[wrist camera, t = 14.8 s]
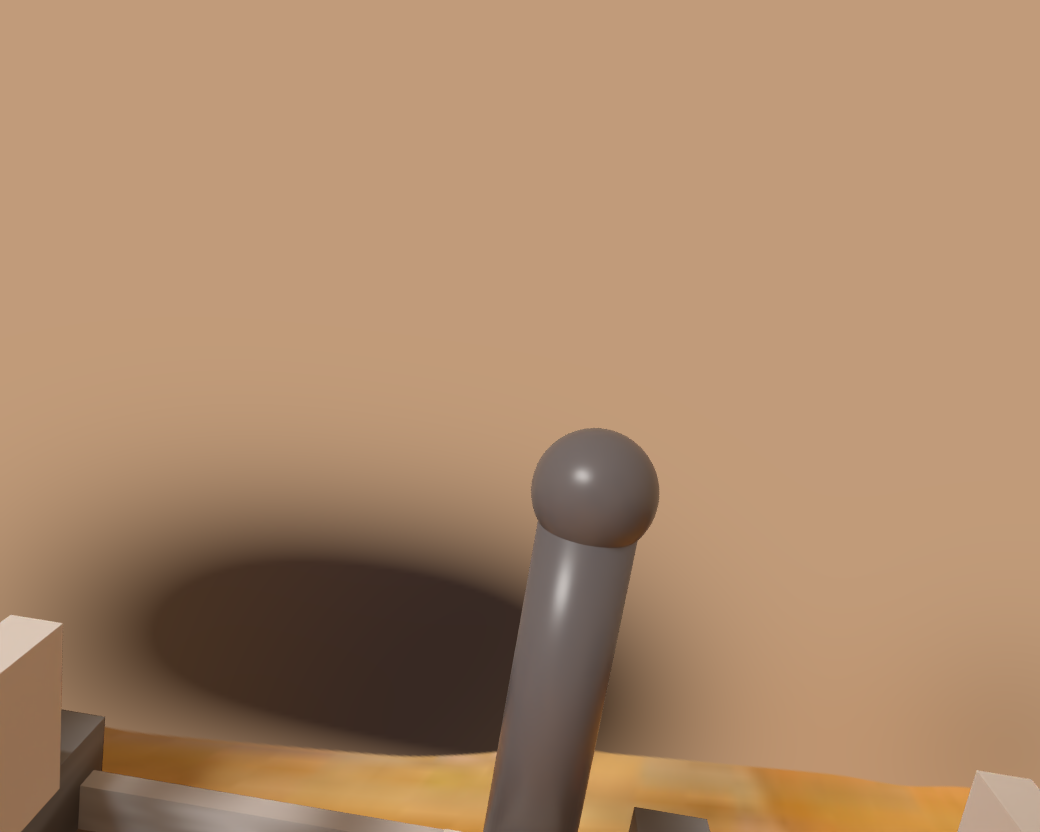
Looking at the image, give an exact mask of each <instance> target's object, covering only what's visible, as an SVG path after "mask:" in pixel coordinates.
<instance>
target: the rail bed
mask: <svg viewBox="0 0 1040 832" xmlns="http://www.w3.org/2000/svg"><path fill="white" fill-rule="evenodd" d="M104 726H105V717H102V716H97V715H90V714H85V713H78V712H73V711H66V710H61V743H60V789H59V790H58V791H57V792H56V793H55V794H54V795H53V796H52V798H51V799H50V800H49V801H48V802H47V803H46V804H45V805H44V807H43V808H42V809H41V810H40V811H39V812H38V813H37V814H36V815H35V817H34V818H33V819H32V820H31V821H30V822H29V823H28V824H27V826H26V827H25V828H24V829H23V830H22V831H21V832H444V830H443V829H437V828H431V827H425V826H419V825H414V824H408V823H402V822H396V821H390V820H384V819H378V818H373V817H367V816H361V815H355V814H349V813H343V812H337V811H331V810H326V809H320V808H314V807H308V806H302V805H296V804H290V803H284V802H279V801H273V800H267V799H261V798H255V797H249V796H243V795H238V794H232V793H226V792H220V791H214V790H208V789H202V788H196V787H191V786H185V785H179V784H173V783H167V782H161V781H155V780H150V779H144V778H138V777H132V776H126V775H120V774H114V773H108V772H103V771H102V760H103V743H104ZM629 832H710V830H709V826H708V822H707V819H702V818H696V817H690V816H685V815H679V814H673V813H667V812H661V811H655V810H649V809H643V808H638V807H634V811H633V816H632V820H631V825H630V829H629Z"/></svg>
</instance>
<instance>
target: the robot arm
mask: <svg viewBox="0 0 1040 832" xmlns="http://www.w3.org/2000/svg"><path fill="white" fill-rule="evenodd" d="M62 645H63V623H57V622H52V621H46V620H40V619H33V618H27V617H21V616H15V615H10V616H9V617H7V618H6V619H4V620H3V621H2V622H0V832H21V831H22V830H23V829H24V828H25V827H26V826H27V824H28V823H29V822H30V821H31V820H32V819H33V818H34V817H35V815H36V814H37V813H38V812H39V811H40V810H41V809H42V808H43V807H44V805H45V804H46V803H47V802H48V801H49V800H50V799H51V798H52V796H53V795H54V794H55V793H56V792H57V791H58V790H59V789H60V743H61V694H62V693H61V692H62ZM958 832H1040V789H1039V788H1038V787H1037V786H1036V784H1035V783H1034V782H1033V781H1032V779H1027V778H1020V777H1014V776H1008V775H1002V774H996V773H989V772H984V771H978V770H977V771H976V774H975V777H974V780H973V784H972V787H971V790H970V793H969V797H968V800H967V803H966V806H965V810H964V813H963V816H962V819H961V823H960V826H959V829H958Z"/></svg>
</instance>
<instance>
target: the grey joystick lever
mask: <svg viewBox="0 0 1040 832" xmlns="http://www.w3.org/2000/svg"><path fill="white" fill-rule="evenodd" d="M531 498H532V504H533V509H534V512H535V515H536V517H537V519H538V523H537V529H536V535H535V540H534V546H533V552H532V558H531V563H530V569H529V575H528V580H527V586H526V592H525V597H524V604H523V609H522V614H521V620H520V626H519V631H518V638H517V643H516V648H515V654H514V660H513V665H512V671H511V677H510V682H509V688H508V694H507V699H506V706H505V711H504V716H503V722H502V728H501V734H500V739H499V745H498V750H497V756H496V762H495V767H494V773H493V779H492V784H491V790H490V796H489V801H488V807H487V813H486V818H485V824H484V830H483V832H578V828H579V823H580V818H581V814H582V809H583V804H584V799H585V794H586V789H587V784H588V779H589V775H590V770H591V765H592V760H593V755H594V750H595V745H596V740H597V735H598V730H599V726H600V721H601V716H602V711H603V706H604V701H605V696H606V692H607V687H608V682H609V677H610V672H611V667H612V662H613V658H614V653H615V648H616V643H617V638H618V633H619V628H620V623H621V619H622V613H623V608H624V604H625V599H626V594H627V589H628V584H629V580H630V575H631V570H632V565H633V560H634V555H635V550H636V545H637V541H638V540H639V539H640V538H641V537H642V536H643V535H644V533H645V532H646V531H647V530H648V528H649V527H650V525H651V523H652V521H653V519H654V517H655V514H656V511H657V507H658V502H659V484H658V478H657V474H656V471H655V469H654V466H653V464H652V462H651V461H650V459H649V457H648V456H647V455H646V453H645V452H644V451H643V450H642V448H641V447H639V446H638V445H637V444H636V443H635V442H634V441H632V440H631V439H629V438H628V437H626V436H624V435H622V434H620V433H618V432H615V431H611V430H607V429H601V428H591V429H583V430H578V431H575V432H572V433H570V434H567V435H565V436H564V437H562V438H560V439H559V440H557V441H556V442H555V443H553V444H552V445H551V447H549V448H548V449H547V450H546V452H545V453H544V454H543V456H542V457H541V459H540V460H539V462H538V464H537V467H536V469H535V472H534V475H533V479H532V486H531ZM444 832H460V831H454V830H449V829H444Z"/></svg>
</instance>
